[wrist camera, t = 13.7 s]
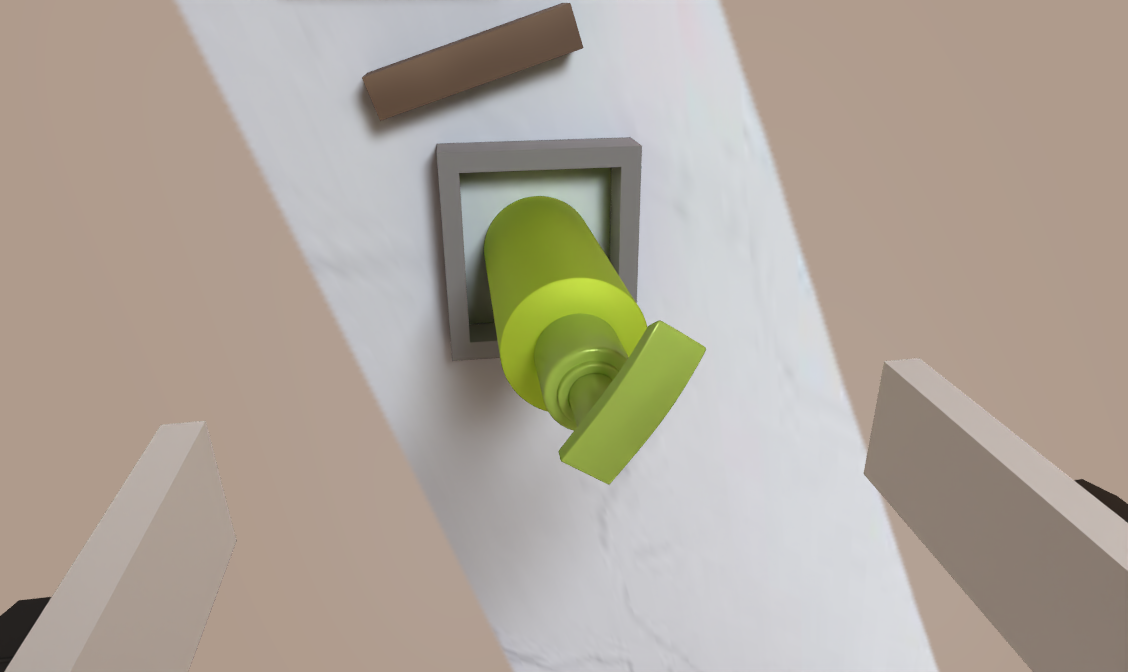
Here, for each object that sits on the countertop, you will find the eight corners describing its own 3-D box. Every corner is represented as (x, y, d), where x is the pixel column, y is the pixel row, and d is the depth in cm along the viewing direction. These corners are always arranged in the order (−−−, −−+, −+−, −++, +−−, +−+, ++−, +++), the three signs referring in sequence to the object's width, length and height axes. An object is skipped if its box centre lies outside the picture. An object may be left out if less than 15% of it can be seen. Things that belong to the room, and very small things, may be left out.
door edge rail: (367, 72, 36) (361, 77, 34) (562, 3, 36) (570, 3, 34) (384, 113, 37) (380, 121, 35) (574, 45, 37) (583, 48, 35)
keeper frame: (437, 143, 38) (436, 152, 36) (630, 137, 39) (641, 145, 37) (451, 341, 43) (452, 360, 40) (625, 330, 44) (635, 348, 42)
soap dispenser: (622, 216, 41) (762, 385, 23) (553, 317, 43) (632, 547, 25) (532, 157, 39) (607, 292, 21) (463, 266, 41) (478, 476, 23)
